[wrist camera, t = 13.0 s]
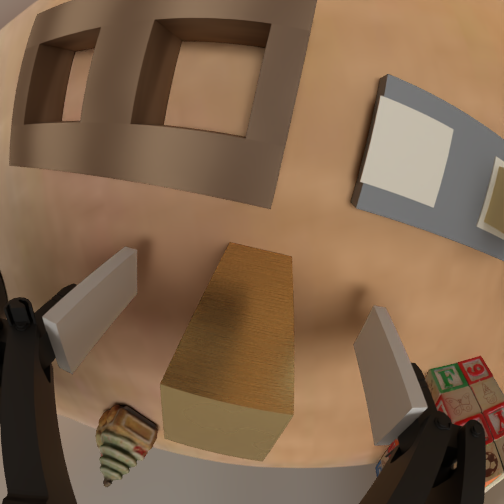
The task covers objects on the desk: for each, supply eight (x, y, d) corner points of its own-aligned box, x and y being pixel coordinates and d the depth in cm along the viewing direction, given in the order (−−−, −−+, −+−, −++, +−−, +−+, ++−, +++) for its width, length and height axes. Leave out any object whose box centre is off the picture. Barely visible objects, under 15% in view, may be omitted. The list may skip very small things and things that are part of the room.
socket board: (45, 156, 14) (9, 165, 11) (69, 24, 10) (37, 14, 7) (274, 192, 14) (270, 209, 11) (313, 17, 10) (319, -13, 7)
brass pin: (220, 294, 17) (164, 438, 8) (229, 242, 15) (159, 383, 6) (276, 307, 17) (262, 461, 8) (291, 256, 15) (293, 414, 6)
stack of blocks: (414, 457, 25) (426, 526, 14) (374, 466, 26) (381, 539, 15) (481, 353, 17) (533, 455, 6) (428, 366, 18) (472, 492, 7)
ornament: (140, 438, 28) (116, 497, 19) (101, 413, 27) (69, 471, 17) (167, 426, 25) (139, 499, 16) (119, 395, 24) (80, 468, 15)
